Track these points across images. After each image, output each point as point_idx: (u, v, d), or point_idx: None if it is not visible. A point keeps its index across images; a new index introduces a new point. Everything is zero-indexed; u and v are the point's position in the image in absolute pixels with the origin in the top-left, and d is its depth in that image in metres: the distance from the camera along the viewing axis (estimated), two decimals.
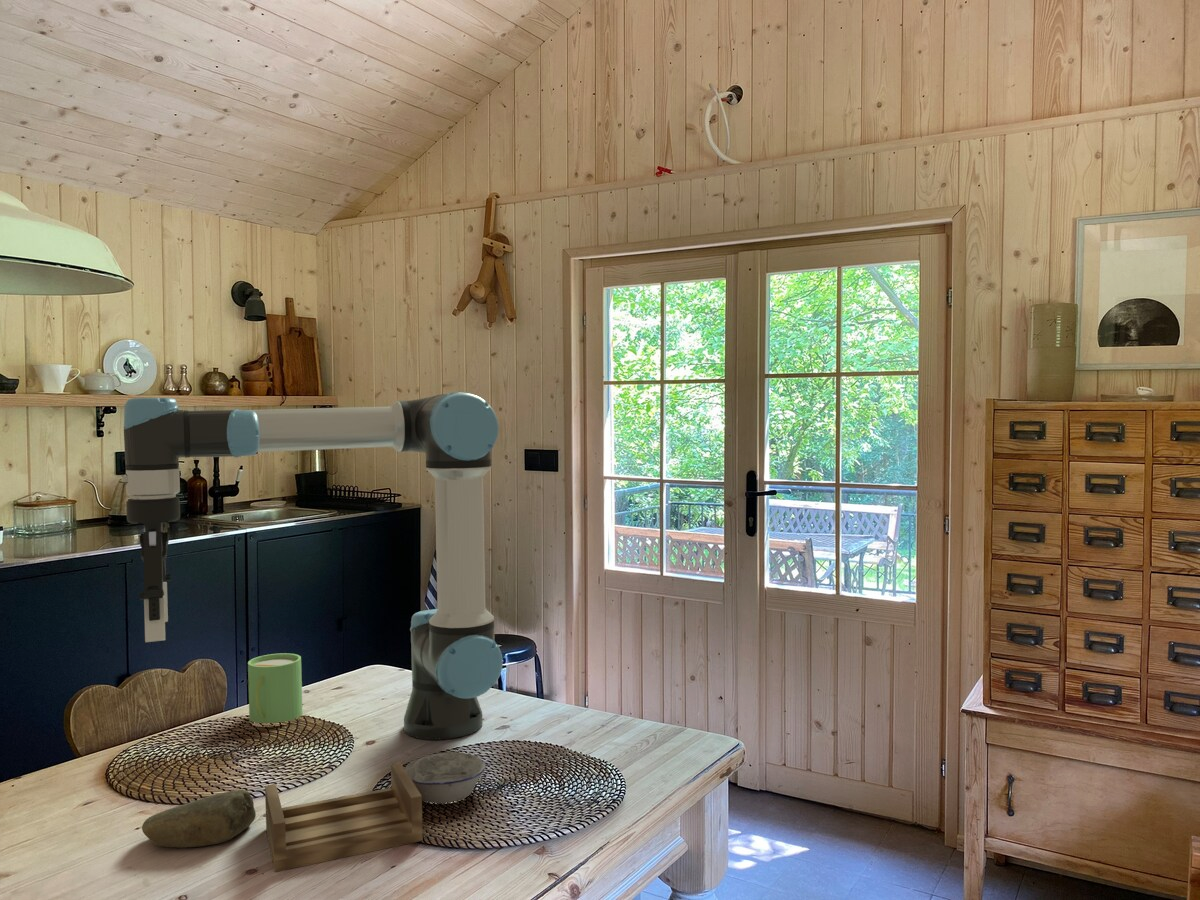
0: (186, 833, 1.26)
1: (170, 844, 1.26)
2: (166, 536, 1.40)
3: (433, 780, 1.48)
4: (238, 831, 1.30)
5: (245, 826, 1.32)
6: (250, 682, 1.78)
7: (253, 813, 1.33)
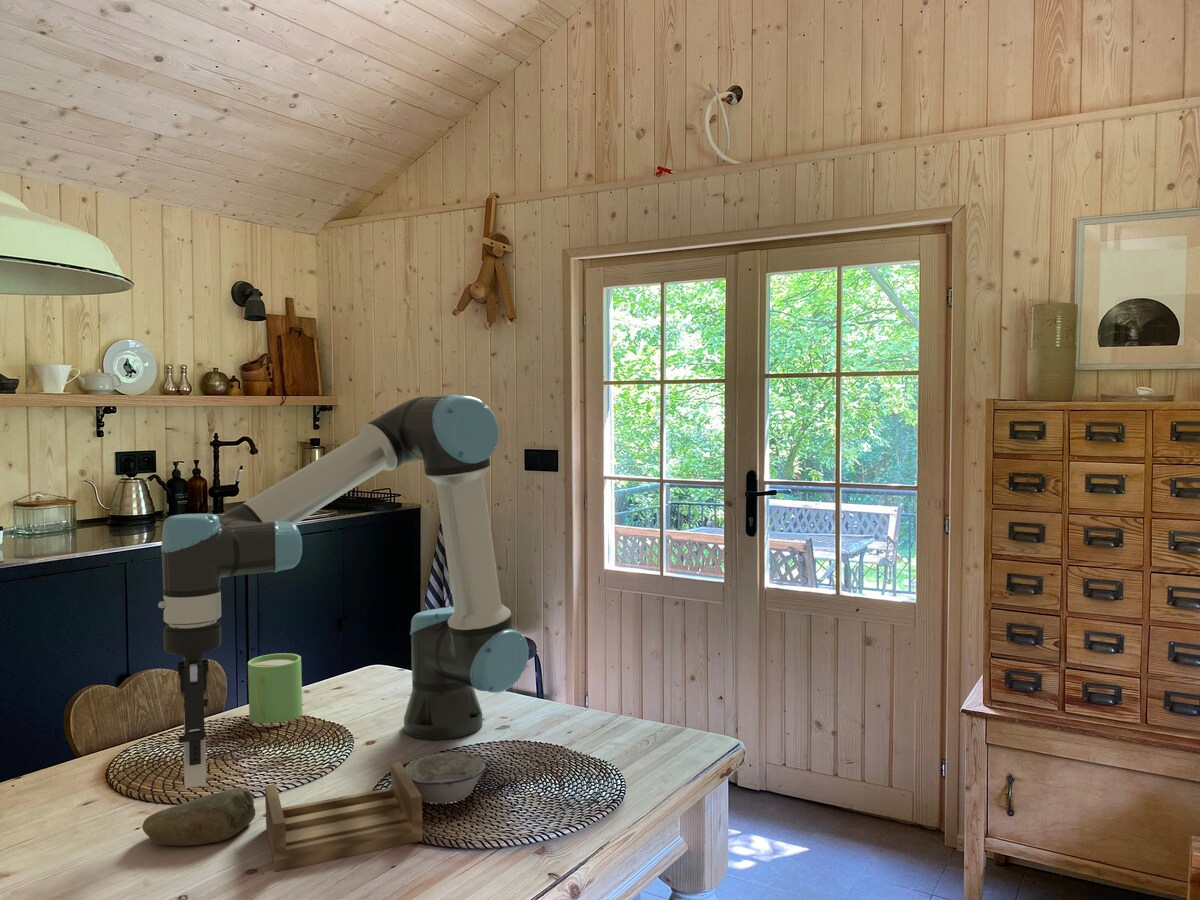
0: (187, 831, 1.27)
1: (170, 842, 1.27)
2: (206, 666, 1.28)
3: (433, 780, 1.48)
4: (238, 829, 1.31)
5: (245, 824, 1.32)
6: (250, 682, 1.78)
7: (253, 811, 1.34)
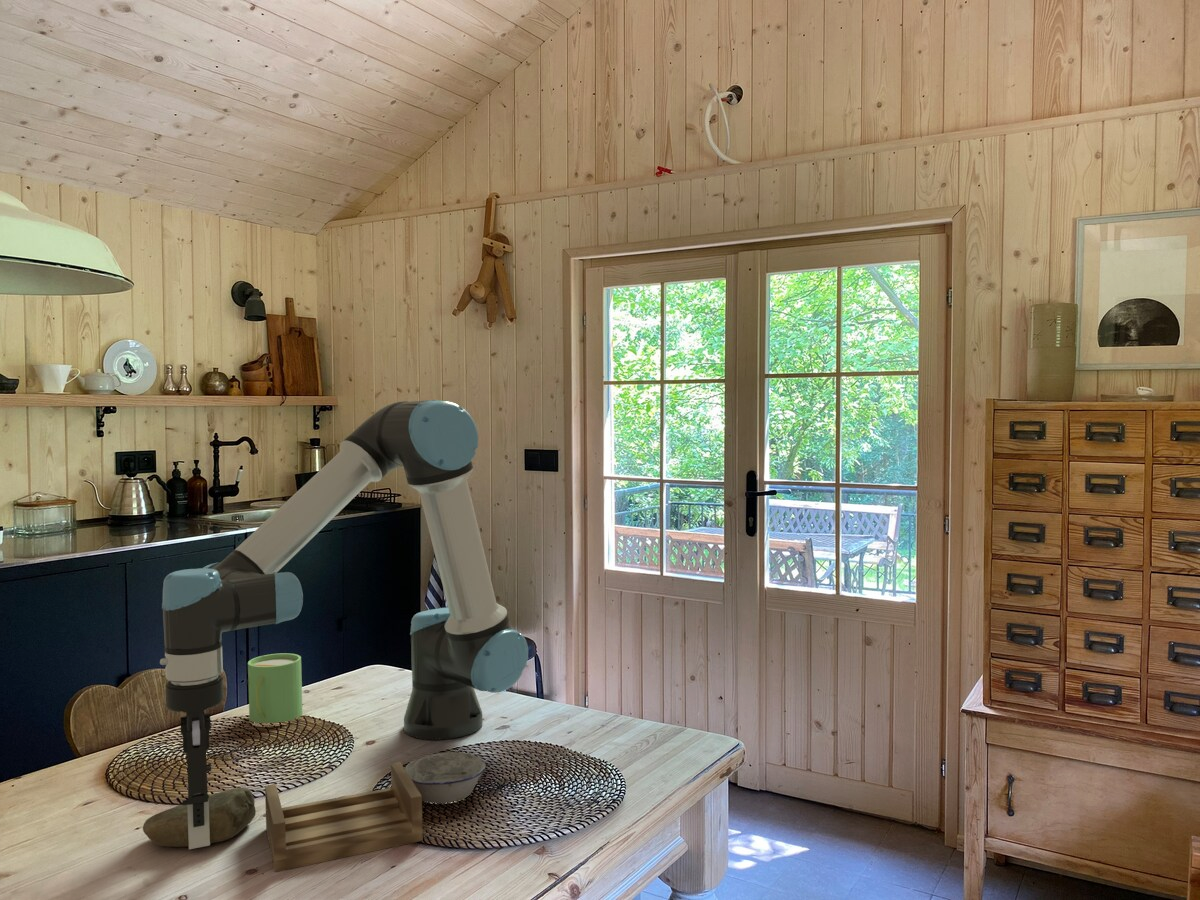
0: None
1: (172, 843, 1.26)
2: (209, 723, 1.29)
3: (433, 780, 1.48)
4: (240, 828, 1.30)
5: (246, 823, 1.32)
6: (250, 682, 1.78)
7: (254, 810, 1.33)
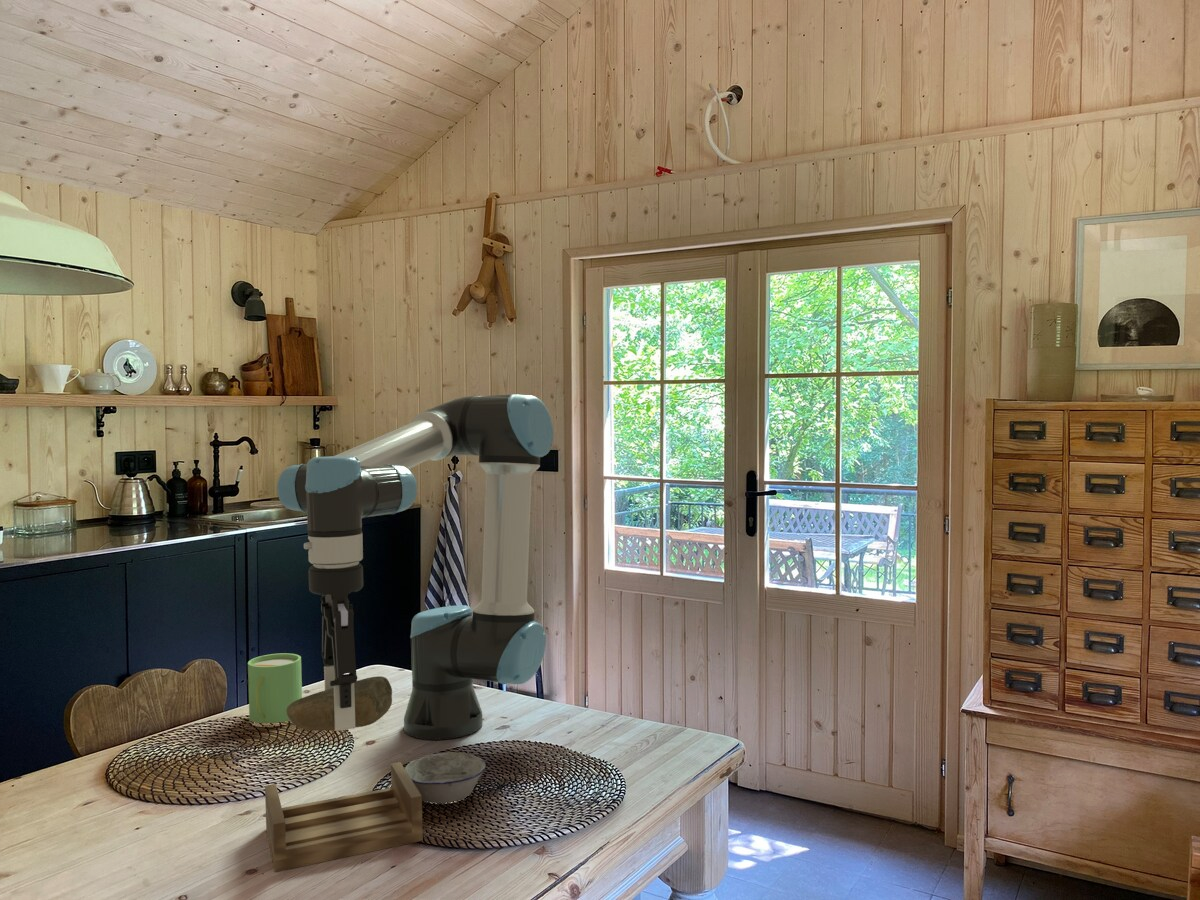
0: None
1: (318, 726, 1.26)
2: (351, 608, 1.29)
3: (433, 780, 1.48)
4: (381, 715, 1.30)
5: (385, 711, 1.32)
6: (250, 682, 1.78)
7: (391, 699, 1.34)
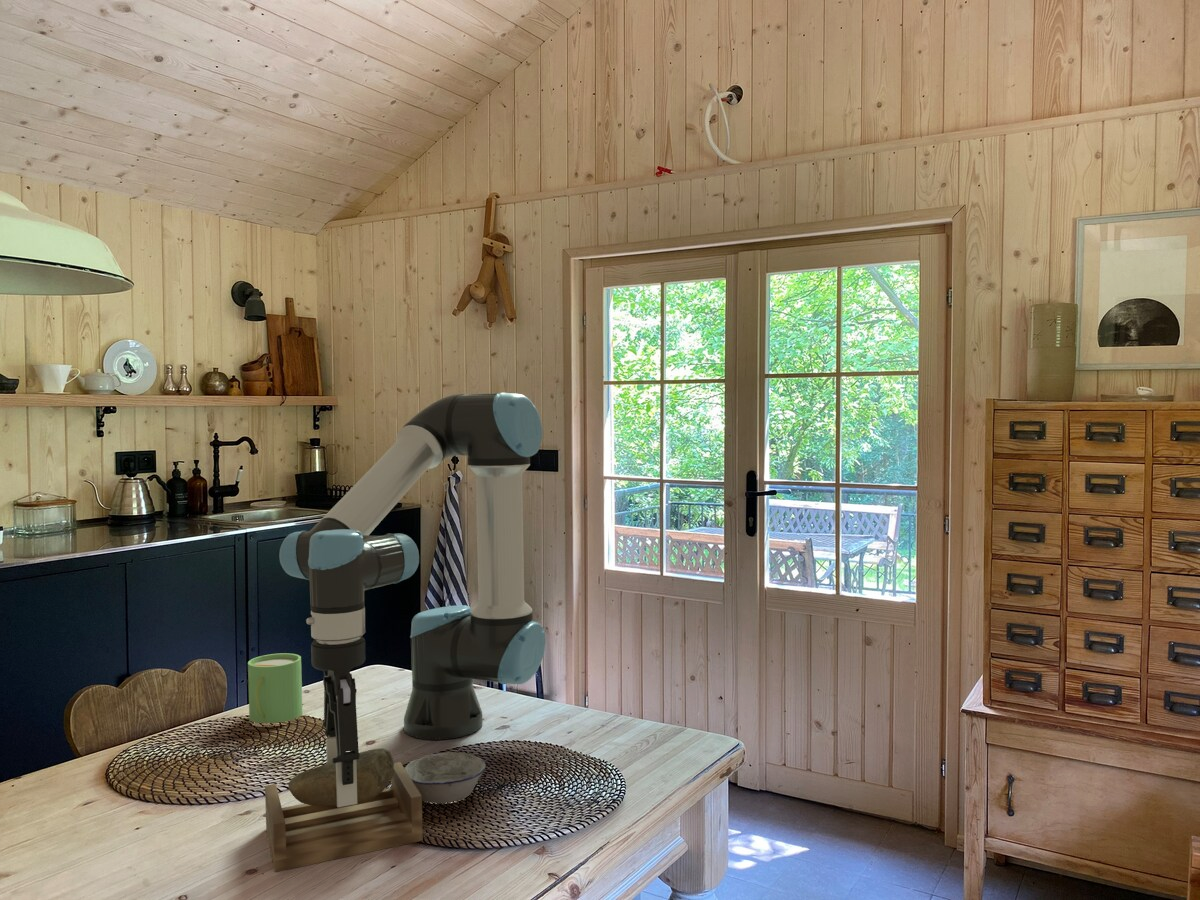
0: None
1: (320, 802, 1.27)
2: (353, 683, 1.29)
3: (433, 780, 1.48)
4: (383, 788, 1.31)
5: (387, 784, 1.32)
6: (250, 682, 1.78)
7: (393, 771, 1.34)
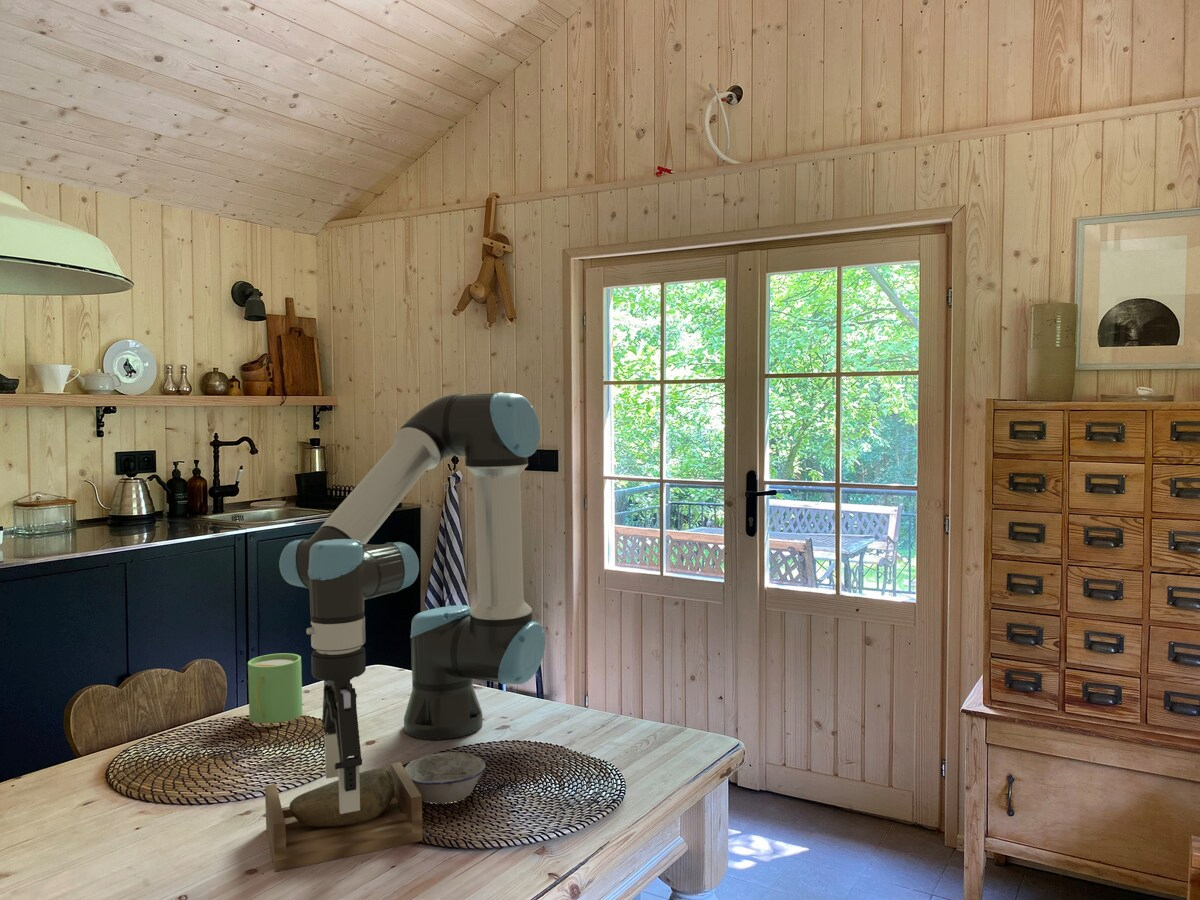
0: None
1: (321, 823, 1.27)
2: (354, 691, 1.29)
3: (433, 780, 1.48)
4: (384, 808, 1.31)
5: (388, 804, 1.33)
6: (250, 682, 1.78)
7: None
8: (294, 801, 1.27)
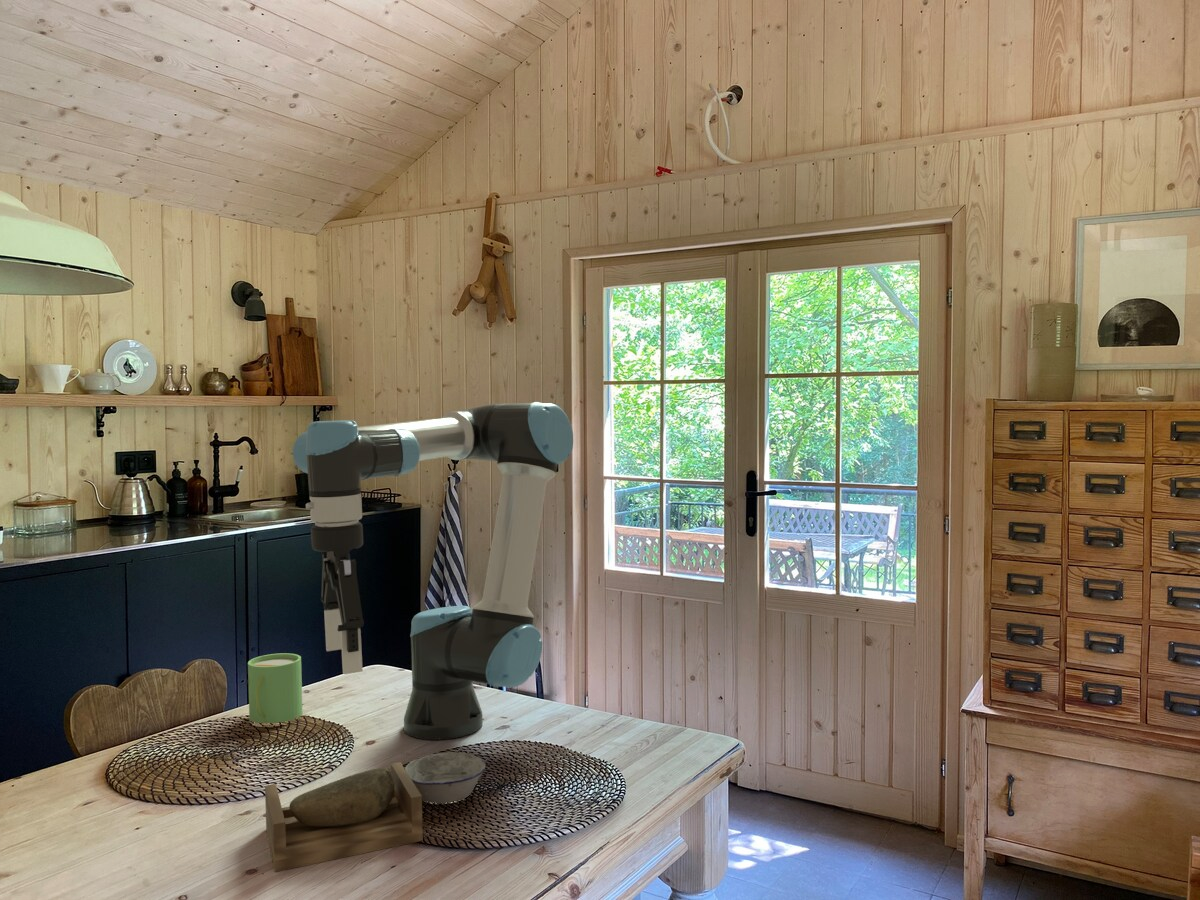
0: (339, 811, 1.27)
1: (321, 823, 1.27)
2: None
3: (433, 780, 1.48)
4: (384, 808, 1.31)
5: (388, 804, 1.33)
6: (250, 682, 1.78)
7: None
8: (294, 801, 1.27)
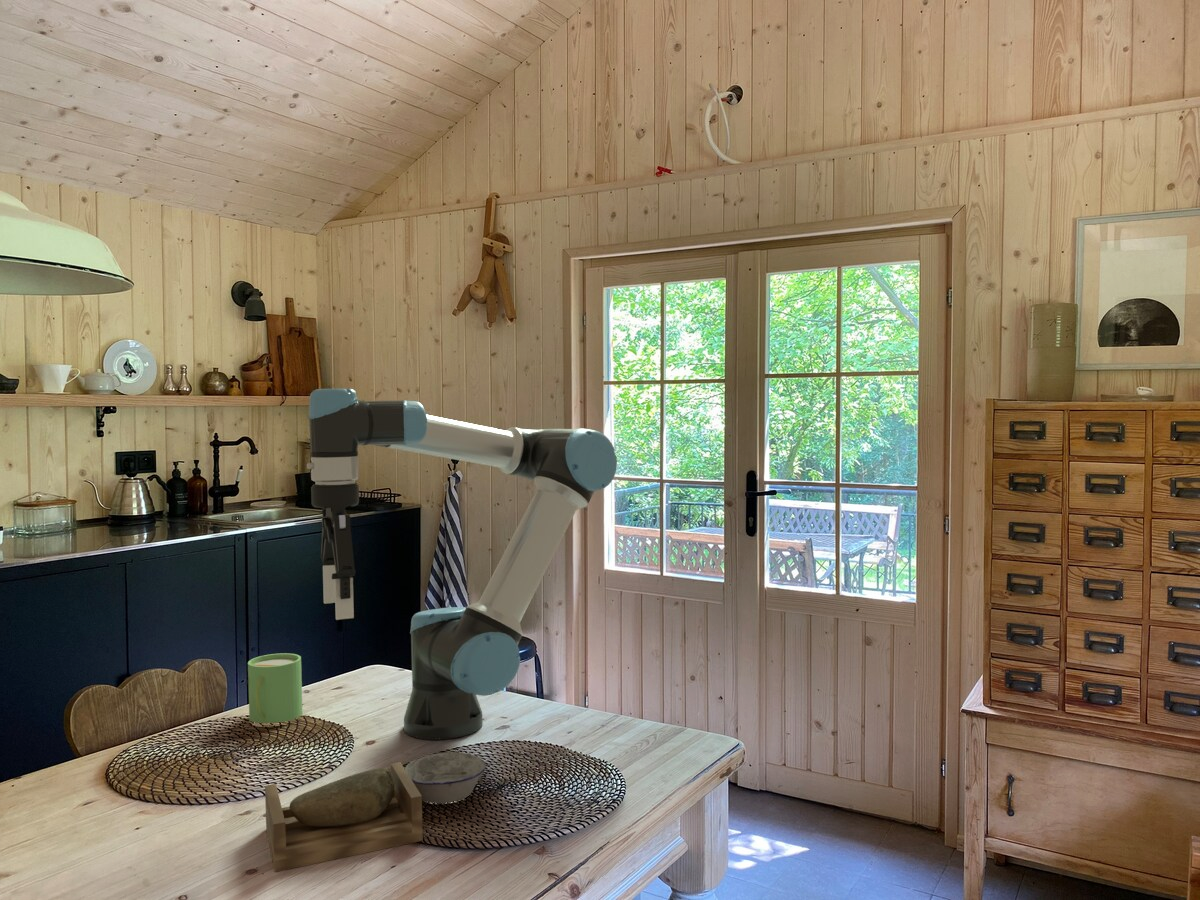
0: (339, 811, 1.27)
1: (321, 823, 1.27)
2: None
3: (433, 780, 1.48)
4: (384, 808, 1.31)
5: (388, 804, 1.33)
6: (250, 682, 1.78)
7: None
8: (294, 801, 1.27)
